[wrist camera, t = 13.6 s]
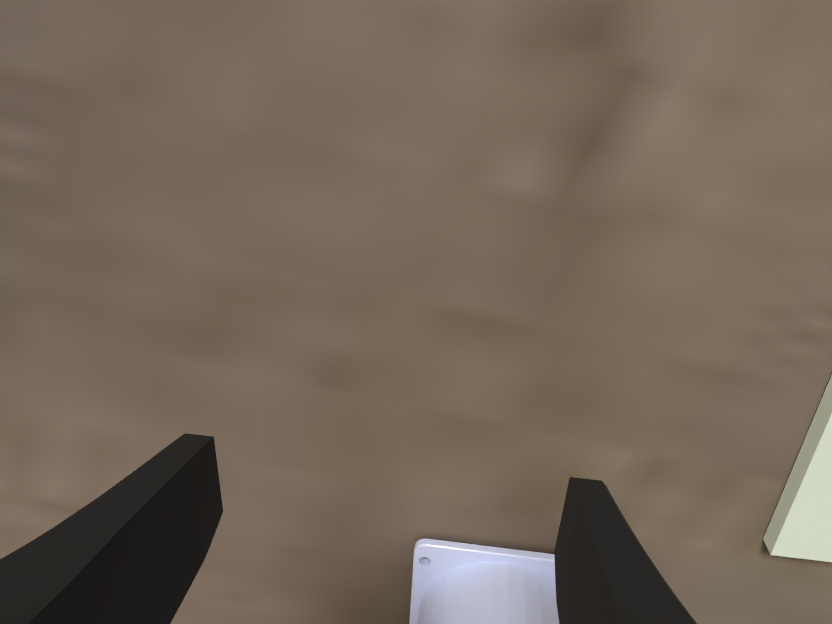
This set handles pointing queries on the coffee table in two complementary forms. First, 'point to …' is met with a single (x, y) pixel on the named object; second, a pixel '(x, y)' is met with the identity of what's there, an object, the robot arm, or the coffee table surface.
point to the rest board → (807, 495)
